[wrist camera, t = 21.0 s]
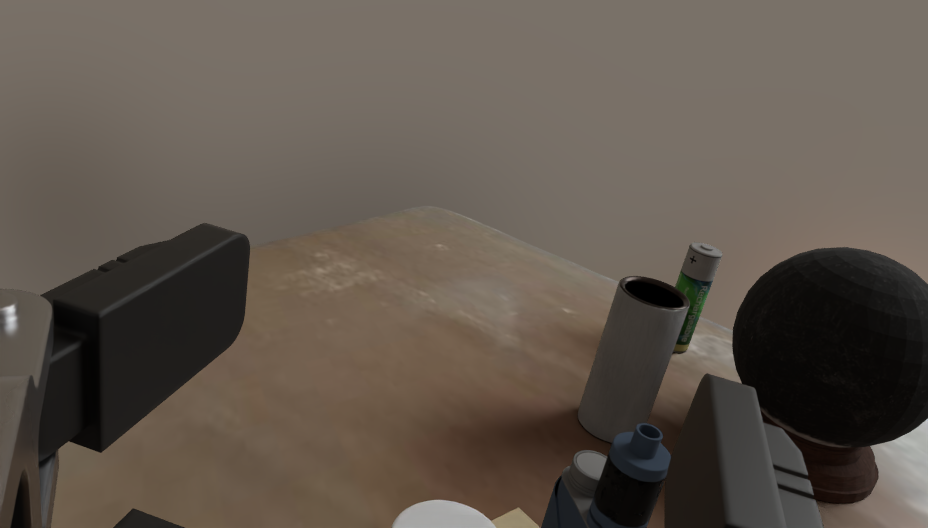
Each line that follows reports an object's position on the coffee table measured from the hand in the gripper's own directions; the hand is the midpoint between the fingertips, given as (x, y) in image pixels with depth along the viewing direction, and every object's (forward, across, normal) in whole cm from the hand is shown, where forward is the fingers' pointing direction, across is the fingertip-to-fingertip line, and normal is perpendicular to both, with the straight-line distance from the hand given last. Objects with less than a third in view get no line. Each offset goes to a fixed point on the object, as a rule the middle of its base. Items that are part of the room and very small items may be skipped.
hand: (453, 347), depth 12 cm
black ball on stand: (+37, -19, +22) cm, 47 cm away
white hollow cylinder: (+33, -6, +22) cm, 40 cm away
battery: (+48, -11, +22) cm, 54 cm away
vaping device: (+15, -5, +22) cm, 27 cm away
